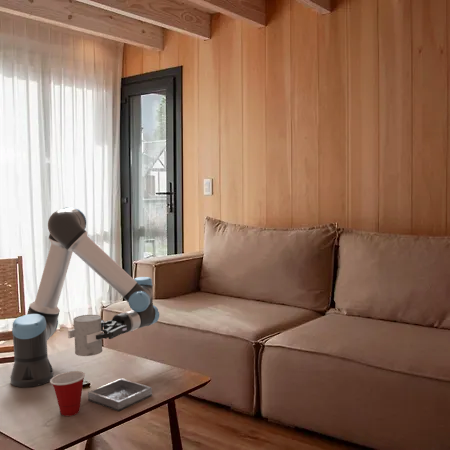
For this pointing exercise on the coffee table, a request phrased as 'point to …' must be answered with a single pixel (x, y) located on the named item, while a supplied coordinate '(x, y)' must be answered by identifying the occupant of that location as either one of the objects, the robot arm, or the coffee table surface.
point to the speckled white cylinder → (86, 327)
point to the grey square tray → (119, 394)
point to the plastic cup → (68, 391)
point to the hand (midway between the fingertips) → (78, 336)
